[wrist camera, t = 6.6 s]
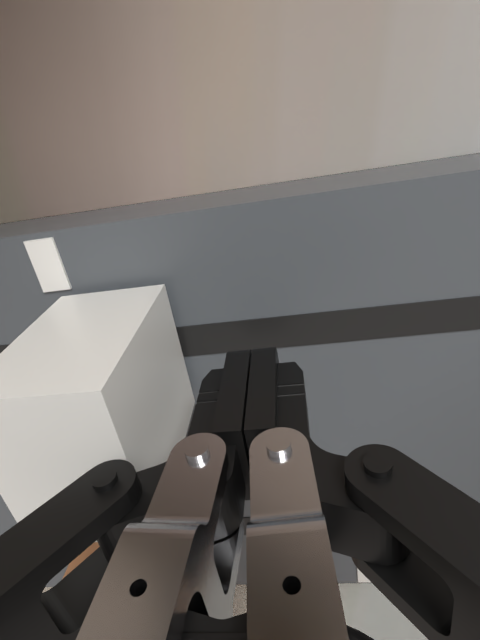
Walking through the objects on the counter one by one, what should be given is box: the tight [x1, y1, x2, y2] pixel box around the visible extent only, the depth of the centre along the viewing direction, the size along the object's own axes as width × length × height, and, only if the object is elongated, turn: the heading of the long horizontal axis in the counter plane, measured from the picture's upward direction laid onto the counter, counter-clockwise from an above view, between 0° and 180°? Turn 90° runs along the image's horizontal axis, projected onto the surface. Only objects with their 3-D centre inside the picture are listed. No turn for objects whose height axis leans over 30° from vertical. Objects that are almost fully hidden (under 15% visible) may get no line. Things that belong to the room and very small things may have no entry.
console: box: [0, 153, 480, 587], centre depth 18 cm, size 28×19×3 cm
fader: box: [0, 284, 195, 542], centre depth 13 cm, size 4×5×6 cm
